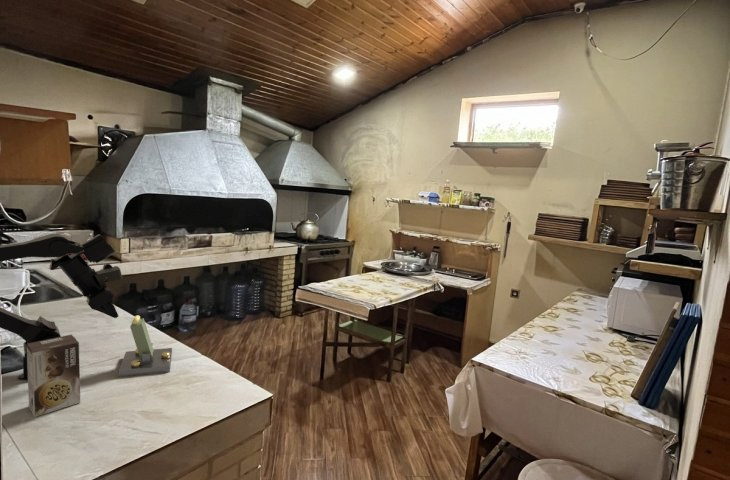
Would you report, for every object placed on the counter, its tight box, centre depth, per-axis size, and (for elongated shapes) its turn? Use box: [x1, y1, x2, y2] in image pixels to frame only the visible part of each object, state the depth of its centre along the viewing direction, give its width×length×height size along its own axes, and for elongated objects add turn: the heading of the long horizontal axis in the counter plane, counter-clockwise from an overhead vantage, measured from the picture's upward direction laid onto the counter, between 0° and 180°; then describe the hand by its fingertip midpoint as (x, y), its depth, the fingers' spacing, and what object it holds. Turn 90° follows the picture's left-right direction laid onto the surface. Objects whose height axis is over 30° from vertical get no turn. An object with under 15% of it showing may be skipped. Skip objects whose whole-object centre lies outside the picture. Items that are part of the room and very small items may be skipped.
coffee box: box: [27, 334, 81, 418], centre depth 94 cm, size 9×6×16 cm
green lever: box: [130, 315, 154, 360], centre depth 116 cm, size 3×5×13 cm, turn 23°
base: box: [118, 342, 173, 378], centre depth 118 cm, size 13×13×5 cm
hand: (113, 312), depth 118 cm, fingers open, 9 cm apart
